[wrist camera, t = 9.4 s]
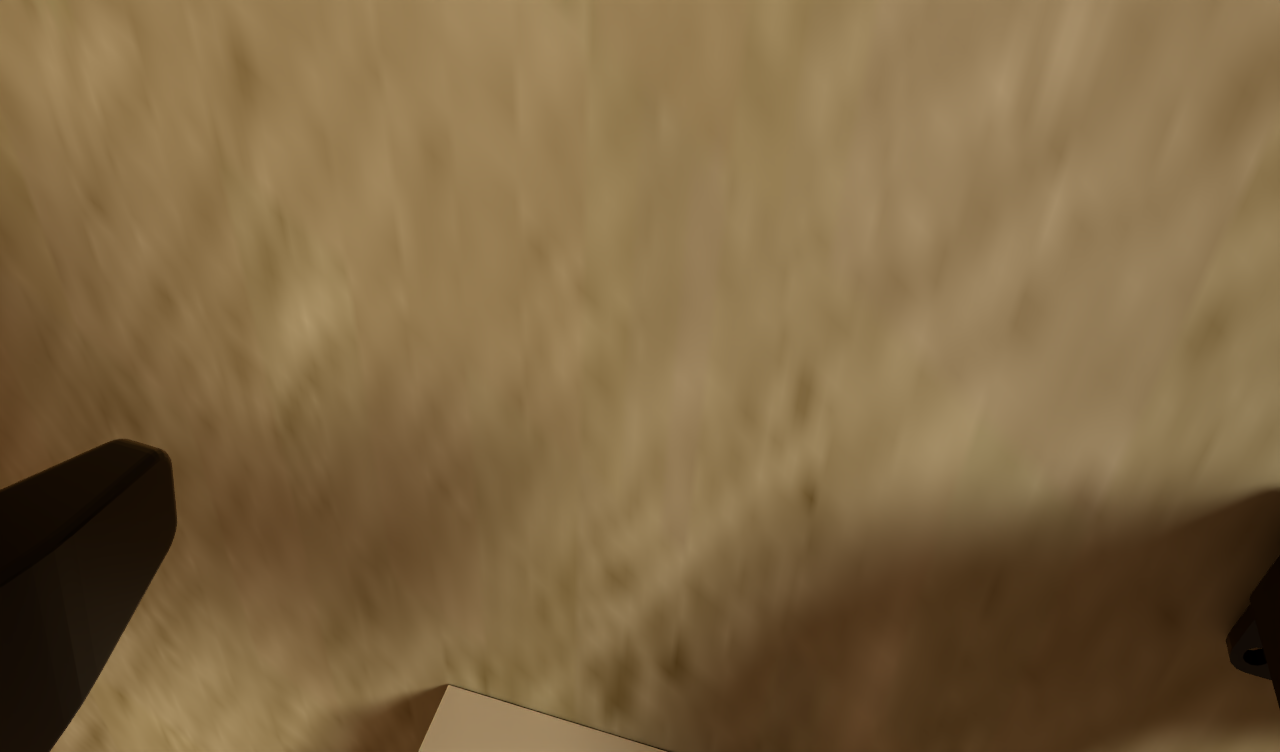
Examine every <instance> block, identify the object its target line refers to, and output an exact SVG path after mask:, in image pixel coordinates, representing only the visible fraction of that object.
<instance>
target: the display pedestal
mask: <svg viewBox="0 0 1280 752" xmlns="http://www.w3.org/2000/svg"><path fill="white" fill-rule="evenodd" d="M418 752H666V751H663V750H660V749H657V748H653V747H650V746H647V745H644V744H640V743H637V742H634V741H631V740H627V739H624V738H621V737H618V736H614V735H611V734H608V733H604V732H601V731H598V730H595V729H591V728H588V727H585V726H582V725H578V724H575V723H572V722H569V721H565V720H562V719H559V718H555V717H552V716H549V715H546V714H542V713H539V712H536V711H533V710H529V709H526V708H523V707H520V706H516V705H513V704H510V703H506V702H503V701H500V700H497V699H493V698H490V697H487V696H484V695H480V694H477V693H474V692H471V691H467V690H464V689H461V688H457V687H454V686H451V685H448V687H447V689H446V691H445V693H444V696H443V698H442V700H441V702H440V704H439V707H438V709H437V711H436V713H435V716H434V718H433V720H432V722H431V724H430V727H429V729H428V731H427V733H426V736H425V738H424V740H423V742H422V744H421V747H420V749H419V751H418Z"/></svg>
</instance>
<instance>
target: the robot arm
mask: <svg viewBox="0 0 1280 752" xmlns="http://www.w3.org/2000/svg"><path fill="white" fill-rule="evenodd" d="M176 526H177V513H176V502H175V492H174V481H173V470H172V463H171V459H170V457H169V456H168V454H167V453H166V452H165V451H163V450H162V449H159V448H156V447H152V446H149V445H146V444H142V443H139V442H135V441H132V440H128V439H117V440H113V441H110V442H107V443H105V444H103V445H100V446H98V447H96V448H94V449H91V450H89V451H87V452H85V453H82V454H80V455H78V456H76V457H73V458H71V459H69V460H67V461H64V462H62V463H60V464H58V465H55V466H53V467H51V468H49V469H46V470H44V471H42V472H40V473H37V474H35V475H33V476H31V477H28V478H26V479H24V480H22V481H19V482H17V483H15V484H13V485H10V486H8V487H6V488H4V489H1V490H0V752H50V750H51V749H52V748H53V746H54V745H55V743H56V742H57V741H58V739H59V738H60V736H61V735H62V734H63V732H64V731H65V729H66V728H67V726H68V725H69V723H70V722H71V720H72V719H73V717H74V716H75V714H76V713H77V711H78V710H79V708H80V707H81V705H82V704H83V702H84V701H85V699H86V697H87V696H88V694H89V692H90V690H91V689H92V687H93V685H94V684H95V682H96V680H97V679H98V677H99V675H100V673H101V671H102V670H103V668H104V666H105V664H106V662H107V661H108V659H109V657H110V655H111V653H112V652H113V650H114V648H115V646H116V644H117V643H118V641H119V639H120V637H121V635H122V633H123V632H124V630H125V628H126V626H127V624H128V623H129V621H130V619H131V617H132V615H133V614H134V612H135V610H136V608H137V606H138V605H139V603H140V601H141V599H142V597H143V596H144V594H145V592H146V590H147V588H148V587H149V585H150V583H151V581H152V579H153V577H154V576H155V574H156V572H157V570H158V568H159V567H160V565H161V563H162V561H163V559H164V558H165V556H166V554H167V552H168V550H169V548H170V546H171V544H172V541H173V539H174V535H175V532H176ZM1250 603H1251V604H1250V606H1249V607H1248V608H1247V610H1246V611H1245V612H1244V614H1243V615H1242V616H1241V618H1240V619H1239V620H1238V622H1237V623H1236V625H1235V626H1234V627H1233V629H1232V630H1231V631H1230V633H1229V634H1228V636H1227V639H1226V645H1227V649H1228V653H1229V657H1230V661H1231V663H1232V664H1233V665H1234V667H1235V668H1236V669H1239V670H1241V671H1243V672H1245V673H1249V674H1252V675H1255V676H1259V677H1262V678H1266V679H1269V680H1272V683H1273V686H1274V690H1275V693H1276V697H1277V701H1278V704H1279V708H1280V556H1279V557H1278V558H1277V560H1276V561H1275V562H1274V564H1273V565H1272V567H1271V568H1270V569H1269V571H1268V572H1267V573H1266V575H1265V576H1264V577H1263V579H1262V580H1261V581H1260V583H1259V584H1258V586H1257V587H1256V588H1255V590H1254V591H1253V592H1252V594H1251V596H1250ZM1256 647H1258V648H1262V649H1258V650H1249V649H1251V648H1256Z"/></svg>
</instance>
